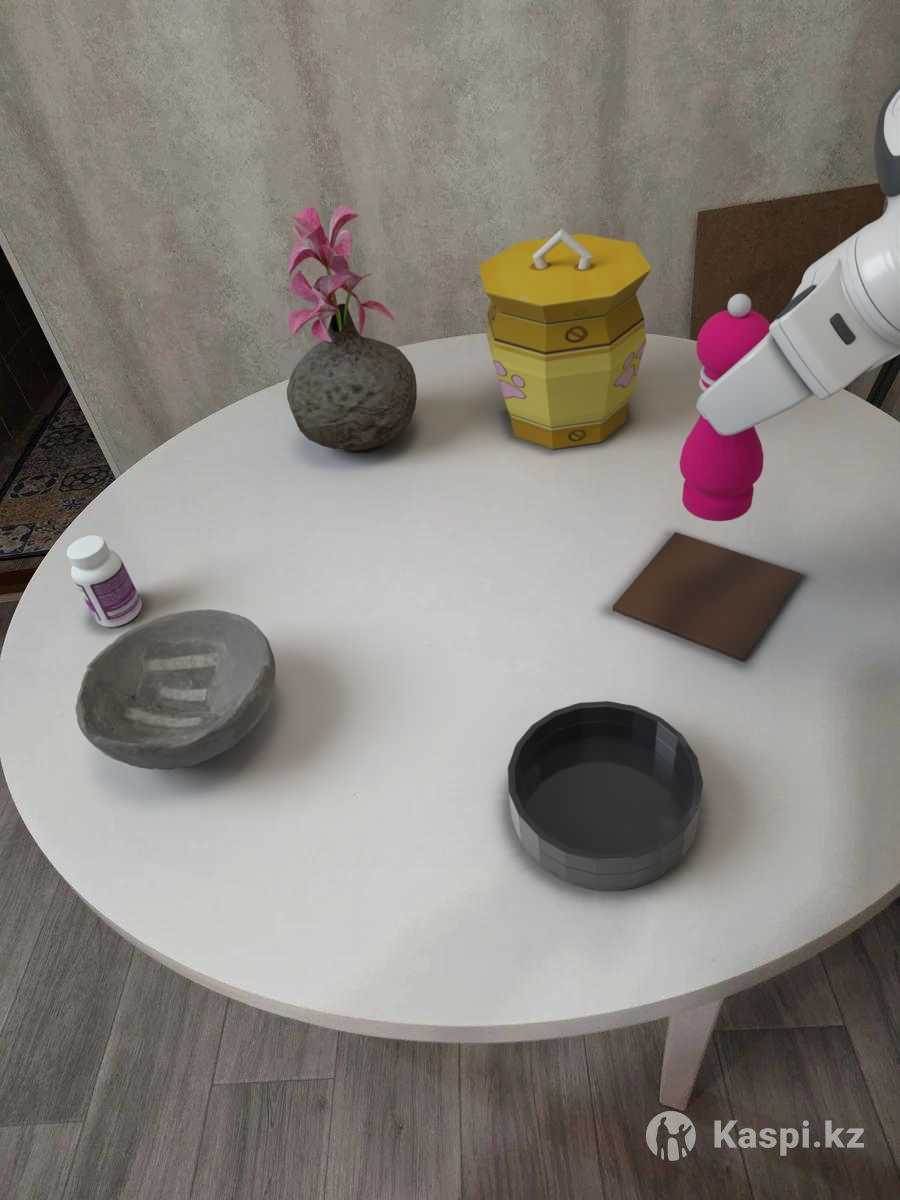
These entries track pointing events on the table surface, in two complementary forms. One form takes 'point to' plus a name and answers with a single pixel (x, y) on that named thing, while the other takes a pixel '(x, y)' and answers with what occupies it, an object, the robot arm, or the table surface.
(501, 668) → the table surface
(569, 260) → the container
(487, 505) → the table surface
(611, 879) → the pan
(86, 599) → the pill bottle
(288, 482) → the table surface
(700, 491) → the pepper mill
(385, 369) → the vase
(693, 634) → the trivet
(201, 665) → the bowl
